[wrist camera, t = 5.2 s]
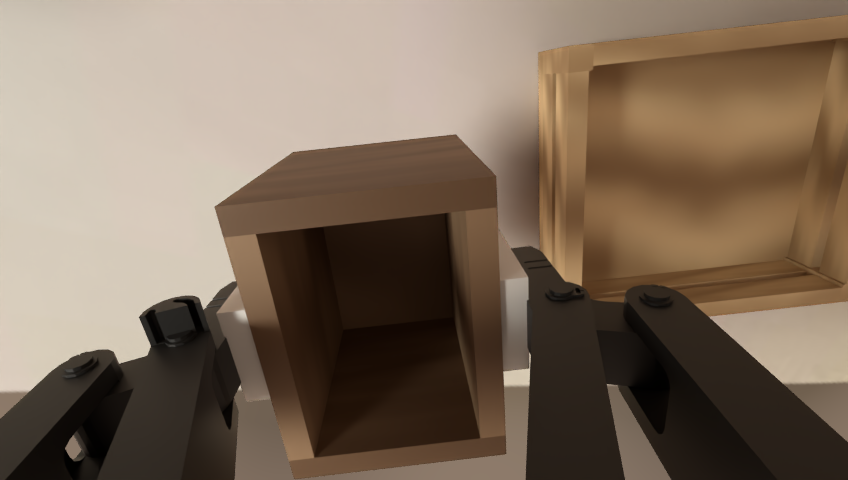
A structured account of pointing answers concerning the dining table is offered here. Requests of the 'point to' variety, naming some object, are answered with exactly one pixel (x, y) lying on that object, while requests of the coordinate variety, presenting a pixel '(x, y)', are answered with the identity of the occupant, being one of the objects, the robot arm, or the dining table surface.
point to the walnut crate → (374, 302)
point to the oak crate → (700, 165)
